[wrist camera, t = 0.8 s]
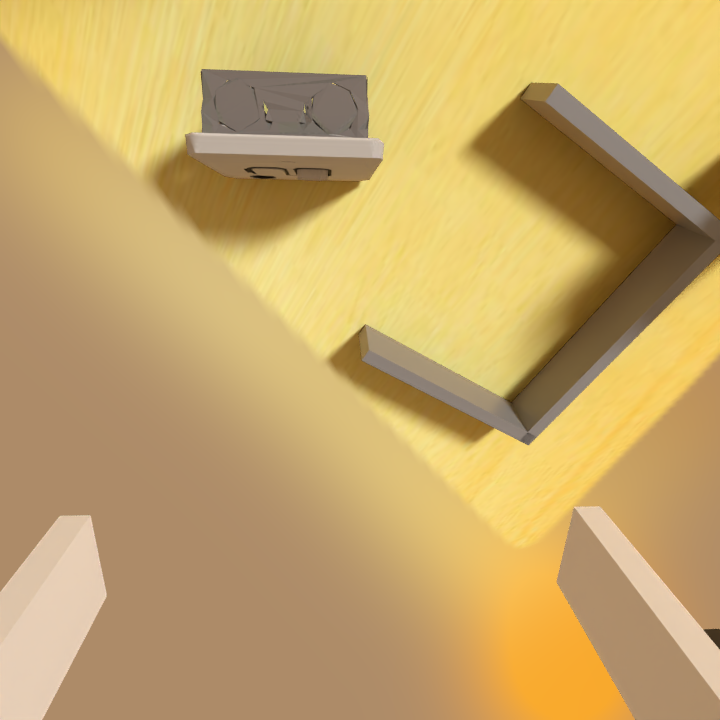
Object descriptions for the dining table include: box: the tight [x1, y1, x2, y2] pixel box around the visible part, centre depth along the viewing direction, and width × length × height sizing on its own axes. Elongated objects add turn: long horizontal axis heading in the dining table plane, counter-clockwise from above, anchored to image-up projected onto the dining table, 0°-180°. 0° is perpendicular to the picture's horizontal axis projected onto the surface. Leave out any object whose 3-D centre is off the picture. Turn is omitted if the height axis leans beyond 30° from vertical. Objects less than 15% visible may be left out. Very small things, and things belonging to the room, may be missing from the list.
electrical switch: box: [185, 69, 384, 181], centre depth 26 cm, size 9×5×9 cm, turn 88°
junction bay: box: [359, 83, 720, 445], centre depth 34 cm, size 20×16×4 cm
